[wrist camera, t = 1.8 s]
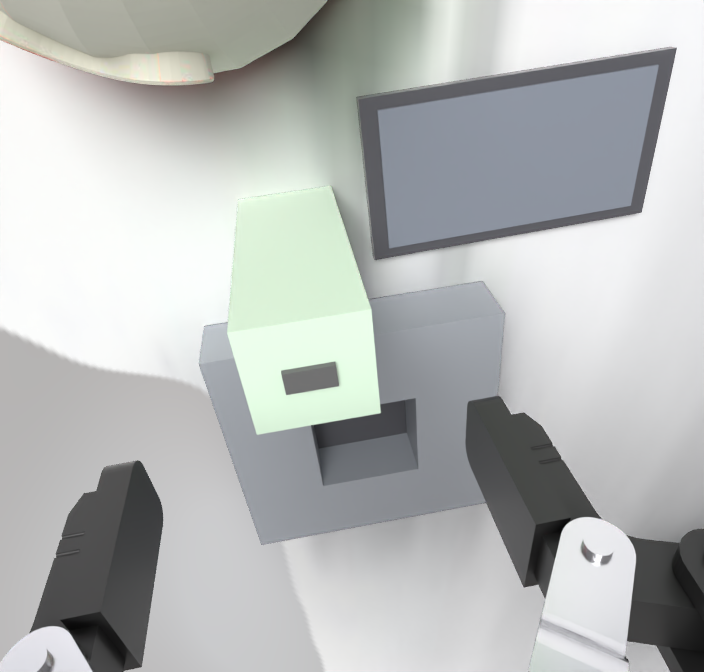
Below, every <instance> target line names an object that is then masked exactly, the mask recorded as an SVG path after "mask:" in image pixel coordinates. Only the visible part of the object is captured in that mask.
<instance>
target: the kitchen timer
mask: <svg viewBox="0 0 704 672" xmlns="http://www.w3.org/2000/svg"><path fill="white" fill-rule="evenodd" d="M327 1H328V0H0V40H2V41H4V42H6V43H9V44H11V45H14V46H16V47H18V48H21V49H23V50H26V51H28V52H31V53H33V54H36V55H39V56H41V57H44V58H47V59H49V60H52V61H55V62H58V63H61V64H63V65H66V66H69V67H72V68H75V69H79V70H82V71H85V72H88V73H92V74H95V75H99V76H103V77H107V78H111V79H115V80H120V81H125V82H131V83H138V84H149V85H194V84H204V83H211V82H213V81H214V79H215V78H214V74H213V73H218V72H223V71H228V70H233V69H239V68H242V67H244V66H245V65H247V64H249V63H251V62H252V61H254V60H256V59H258V58H259V57H261V56H263V55H265V54H267V53H268V52H270V51H272V50H274V49H275V48H277V47H279V46H281V45H282V44H284V43H286V42H288V41H289V40H291V39H293V38H294V37H295V36H296V35H297V33H298V32H299V31H300V30H301V29H302V28H303V27H304V26H305V25H306V24H307V23H308V22H309V20H310V19H311V18H312V17H313V16H314V15H315V14H316V13H317V12H318V11H319V10H320V9H321V7H322V6H323V5H324V4H325V3H326V2H327Z"/></svg>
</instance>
